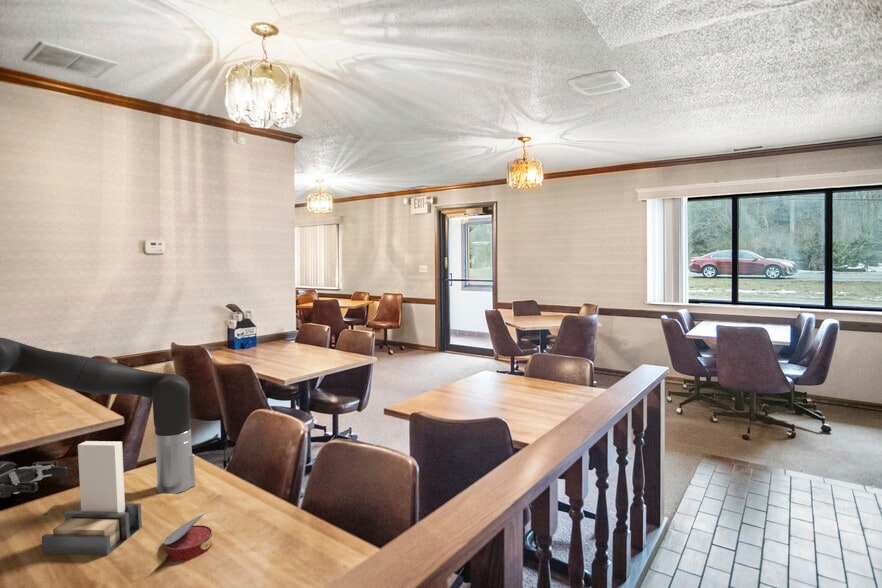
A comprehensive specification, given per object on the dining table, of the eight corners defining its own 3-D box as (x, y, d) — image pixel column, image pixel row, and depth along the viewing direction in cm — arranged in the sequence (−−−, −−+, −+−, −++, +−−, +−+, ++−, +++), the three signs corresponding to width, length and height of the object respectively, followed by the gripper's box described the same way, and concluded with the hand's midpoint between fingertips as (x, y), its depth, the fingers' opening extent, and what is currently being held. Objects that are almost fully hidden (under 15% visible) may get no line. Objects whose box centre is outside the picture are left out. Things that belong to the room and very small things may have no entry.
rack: (42, 560, 109) (41, 527, 108) (83, 531, 120) (81, 502, 120) (107, 561, 108) (106, 529, 108) (142, 532, 120) (140, 503, 119)
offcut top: (53, 539, 110) (52, 528, 110) (69, 528, 114) (69, 518, 114) (104, 540, 109) (104, 530, 109) (119, 529, 114) (118, 519, 114)
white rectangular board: (82, 534, 116) (77, 444, 115) (90, 529, 119) (85, 441, 117) (118, 535, 116) (114, 445, 114) (126, 529, 118) (122, 441, 117)
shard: (71, 526, 124) (70, 519, 124) (33, 533, 121) (32, 526, 121) (81, 506, 134) (81, 500, 134) (47, 512, 131) (47, 506, 130)
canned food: (184, 581, 108) (162, 555, 104) (167, 559, 115) (145, 533, 110) (229, 540, 115) (210, 513, 111) (210, 521, 122) (191, 495, 117)
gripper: (-44, 475, 110) (24, 476, 110) (14, 451, 125) (75, 452, 124) (-42, 507, 111) (26, 508, 110) (16, 479, 125) (76, 480, 124)
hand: (52, 478), depth 117 cm, fingers open, 8 cm apart
